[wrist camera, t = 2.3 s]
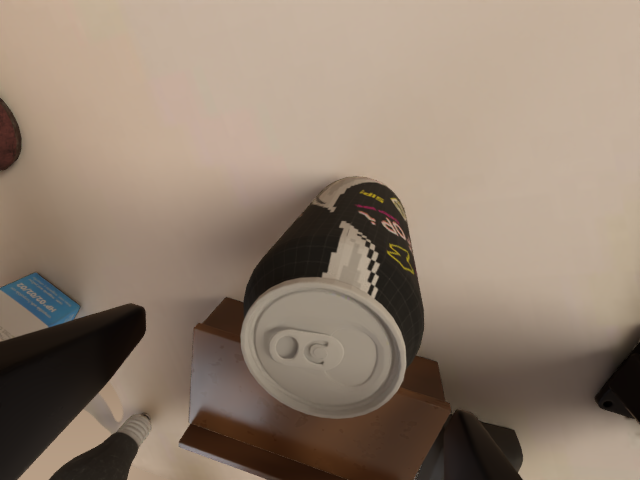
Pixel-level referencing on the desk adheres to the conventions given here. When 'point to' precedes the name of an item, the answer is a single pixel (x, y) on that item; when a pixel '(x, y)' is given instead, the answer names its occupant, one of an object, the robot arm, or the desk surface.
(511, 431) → the usb drive
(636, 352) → the robot arm
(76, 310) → the ink box
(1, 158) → the can
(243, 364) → the step shelf
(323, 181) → the desk surface
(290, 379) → the beverage can
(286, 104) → the desk surface
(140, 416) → the light bulb
